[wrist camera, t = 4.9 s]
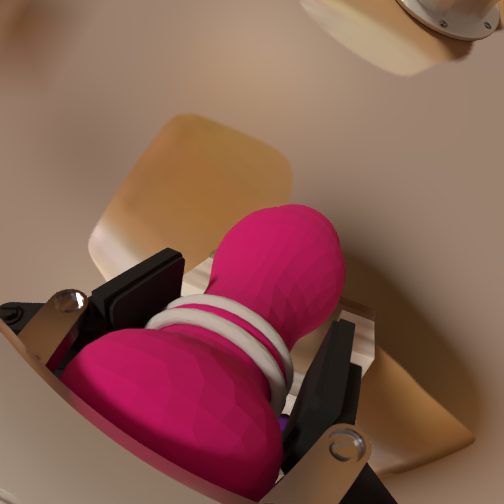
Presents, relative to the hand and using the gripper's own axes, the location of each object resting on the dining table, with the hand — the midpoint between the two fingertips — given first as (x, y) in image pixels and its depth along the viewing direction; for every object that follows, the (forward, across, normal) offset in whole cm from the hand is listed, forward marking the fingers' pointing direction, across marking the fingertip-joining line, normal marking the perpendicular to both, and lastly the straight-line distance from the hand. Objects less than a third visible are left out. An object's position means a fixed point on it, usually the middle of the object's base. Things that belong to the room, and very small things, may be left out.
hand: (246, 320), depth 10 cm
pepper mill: (+11, 0, +1) cm, 11 cm away
